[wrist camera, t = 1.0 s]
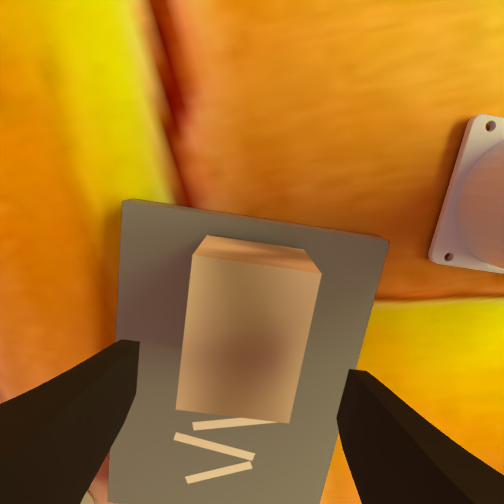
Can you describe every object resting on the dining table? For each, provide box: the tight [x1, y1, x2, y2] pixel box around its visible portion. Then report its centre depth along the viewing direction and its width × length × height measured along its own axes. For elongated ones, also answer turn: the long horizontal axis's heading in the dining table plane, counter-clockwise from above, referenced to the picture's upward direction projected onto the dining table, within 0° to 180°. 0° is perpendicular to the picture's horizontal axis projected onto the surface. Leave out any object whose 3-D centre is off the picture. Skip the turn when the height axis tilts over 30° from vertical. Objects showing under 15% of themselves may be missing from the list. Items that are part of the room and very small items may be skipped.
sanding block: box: [176, 235, 322, 423], centre depth 15 cm, size 5×7×4 cm
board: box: [107, 199, 390, 504], centre depth 19 cm, size 14×20×2 cm
